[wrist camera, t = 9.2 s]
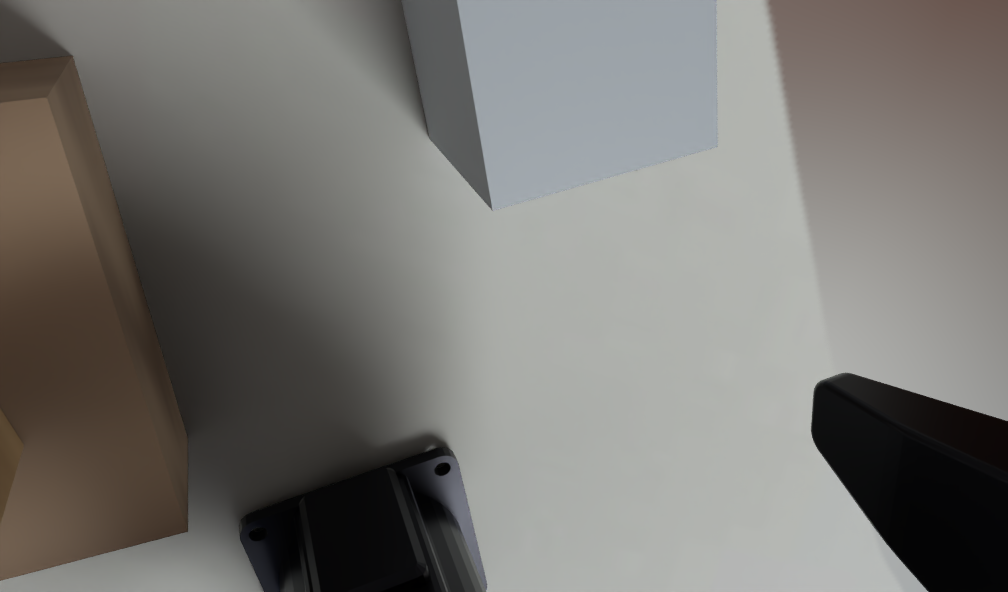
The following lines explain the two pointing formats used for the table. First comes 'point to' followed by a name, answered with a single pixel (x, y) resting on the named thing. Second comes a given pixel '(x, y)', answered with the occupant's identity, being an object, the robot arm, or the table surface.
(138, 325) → the walnut block
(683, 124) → the grey cube
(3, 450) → the oak cube
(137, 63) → the table surface
